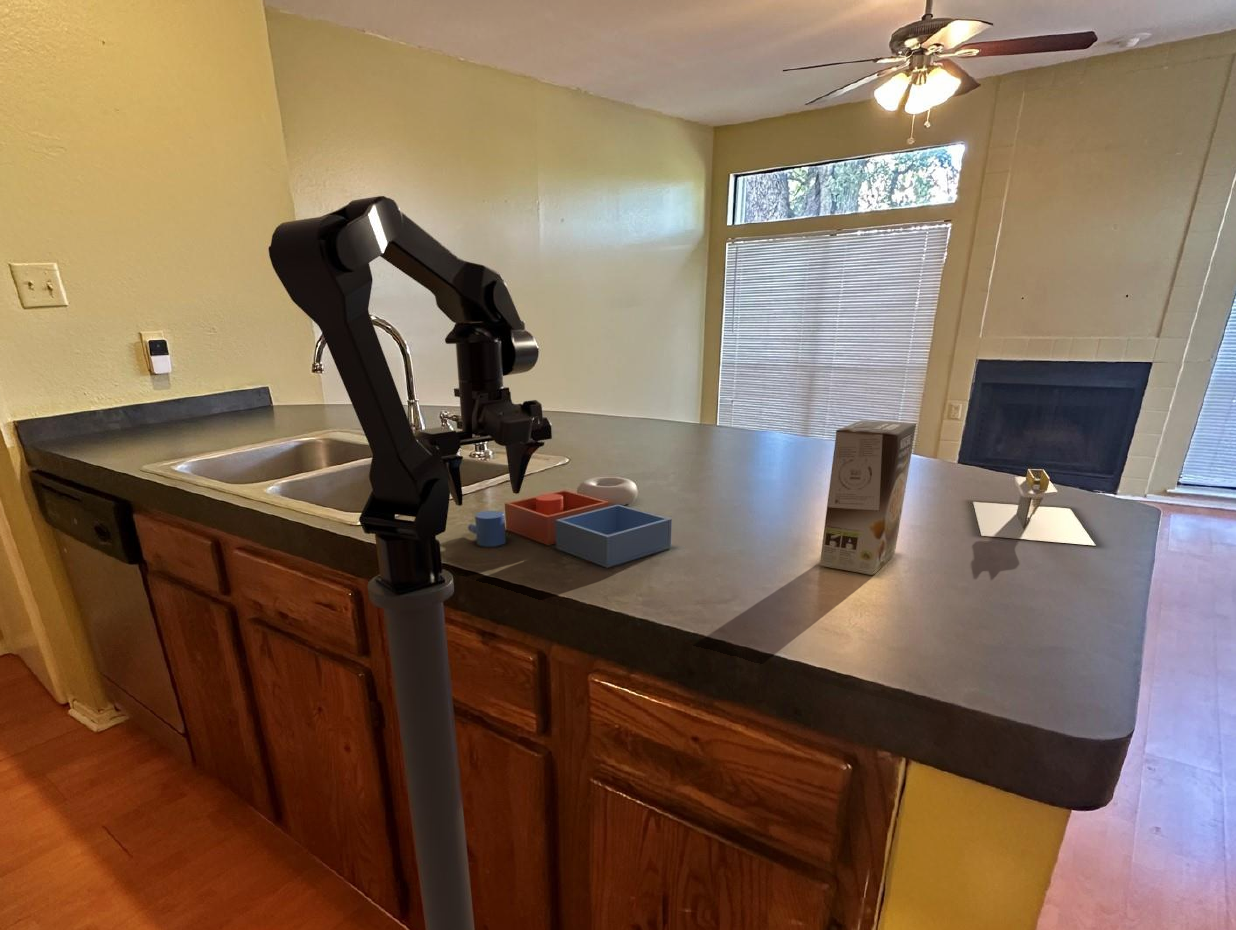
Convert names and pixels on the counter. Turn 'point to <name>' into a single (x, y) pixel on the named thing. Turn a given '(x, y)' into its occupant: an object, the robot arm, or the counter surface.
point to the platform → (1031, 515)
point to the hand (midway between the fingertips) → (488, 499)
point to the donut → (609, 490)
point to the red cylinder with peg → (549, 504)
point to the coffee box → (866, 494)
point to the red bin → (542, 526)
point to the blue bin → (613, 535)
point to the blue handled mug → (489, 528)
